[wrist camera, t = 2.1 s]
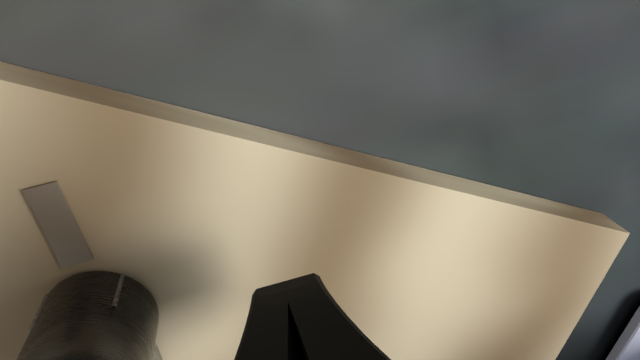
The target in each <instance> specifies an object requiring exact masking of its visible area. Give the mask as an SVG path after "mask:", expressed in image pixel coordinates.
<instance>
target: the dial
mask: <svg viewBox="0 0 640 360" xmlns="http://www.w3.org/2000/svg"><path fill="white" fill-rule="evenodd" d="M158 322H159V311H158V307H157V304H156V301H155V299H154V298H153V296H152V295H151V293H150V292H149V291H148V290H147V289H146V288H145V287H144V286H143V285H142V284H140V283H139V282H137V281H136V280H134V279H132V278H130V277H128V276H125V274H124V273H123V274H119V273H115V272H109V271H89V272H83V273H79V274H76V275H73V276H71V277H69V278H67V279H65V280H63V281H62V282H60V283H59V284H57V285H56V286H55V287H54V288H53V289H52V290H51V291H50V293H49V294H46V295H45V297H44V299H43V301H42V303H41V305H40V307H39V309H38V311H37V313H36V315H35V317H34V319H33V321H32V323H31V326H30V328H29V331H30V332H29V335H28V337H27V339H26V341H25V343H24V345H23V347H22V349H21V351H20V353H19V355H18V357H17V360H163V358H162V356H161V354H160V351H159V349H158V347H157V345H156V343H155V342H156V335H157V329H158Z"/></svg>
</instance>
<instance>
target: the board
mask: <svg viewBox="0 0 640 360" xmlns="http://www.w3.org/2000/svg"><path fill="white" fill-rule="evenodd" d="M629 234H630V233H629V232H627V231H626V230H625V229H623V228H622V227H620V226H619V225H617V224H616V223H615V222H613V221H612V220H610V219H609V218H608V217H606V216H605V215H603V214H602V213H598V212H595V211H591V210H587V209H583V208H579V207H575V206H571V205H567V204H563V203H559V202H555V201H551V200H547V199H543V198H539V197H535V196H531V195H527V194H523V193H519V192H515V191H511V190H507V189H503V188H499V187H496V186H492V185H488V184H484V183H480V182H476V181H472V180H468V179H464V178H460V177H456V176H452V175H448V174H444V173H440V172H436V171H432V170H428V169H424V168H420V167H416V166H412V165H408V164H404V163H400V162H397V161H393V160H389V159H385V158H381V157H377V156H373V155H369V154H365V153H361V152H357V151H353V150H349V149H345V148H341V147H337V146H333V145H329V144H325V143H321V142H317V141H313V140H309V139H305V138H301V137H298V136H294V135H290V134H286V133H282V132H278V131H274V130H270V129H266V128H262V127H258V126H254V125H250V124H246V123H242V122H238V121H234V120H230V119H226V118H222V117H218V116H214V115H210V114H206V113H202V112H199V111H195V110H191V109H187V108H183V107H179V106H175V105H171V104H167V103H163V102H159V101H155V100H151V99H147V98H143V97H139V96H135V95H131V94H127V93H123V92H119V91H115V90H111V89H107V88H103V87H100V86H96V85H92V84H88V83H84V82H80V81H76V80H72V79H68V78H64V77H60V76H56V75H52V74H48V73H44V72H40V71H36V70H32V69H28V68H24V67H20V66H16V65H12V64H8V63H4V62H1V61H0V360H17V357H18V355H19V353H20V351H21V349H22V347H23V345H24V343H25V341H26V339H27V337H28V335H29V332H30V331H29V328H30V326H31V323H32V321H33V319H34V317H35V315H36V313H37V311H38V309H39V307H40V305H41V303H42V301H43V299H44V297H45V295H46V294H49V293H50V291H51V290H52V289H53V288H54V287H55V286H56V285H57V284H59V283H60V282H62V281H63V280H65V279H67V278H69V277H71V276H73V275H76V274H79V273H83V272H89V271H109V272H115V273H119V274H123V273H124V274H125V276H128V277H130V278H132V279H134V280H136V281H137V282H139V283H140V284H142V285H143V286H144V287H145V288H146V289H147V290H148V291H149V292H150V293H151V295H152V296H153V298H154V299H155V301H156V304H157V307H158V311H159V322H158V329H157V335H156V342H155V343H156V345H157V347H158V349H159V351H160V354H161V356H162V358H163V360H234V359H235V356H236V353H237V350H238V347H239V344H240V341H241V338H242V335H243V331H244V328H245V325H246V321H247V317H248V313H249V309H250V304H251V299H252V294H253V293H254V291H255V290H256V289H258V288H261V287H265V286H269V285H272V284H276V283H279V282H283V281H287V280H290V279H294V278H297V277H301V276H304V275H308V274H312V273H315V274H317V275H318V276H320V278H321V280H322V282H323V284H324V285H325V287H326V288H327V290H328V292H329V293H330V294H331V296H332V297H333V298H334V300H335V301H336V302H337V304H338V305H339V306H340V307H341V309H342V310H343V311H344V312H345V313H346V315H347V316H348V317H349V318H350V319H351V320H352V321H353V322H354V323H355V324H356V326H357V327H358V328H359V329H360V330H361V331H362V332H363V333H364V334H365V335H366V336H367V337H368V338H369V339H370V340H371V341H372V342H373V343H374V344H375V345H376V346H377V347H378V348H379V349H380V350H381V351H382V352H384V353H385V354H386V355H387V356H388V357H389V358H390V359H391V360H555V359H556V358H557V356H558V354H559V353H560V351H561V349H562V347H563V346H564V344H565V342H566V341H567V339H568V337H569V336H570V334H571V332H572V331H573V329H574V327H575V325H576V324H577V322H578V320H579V319H580V317H581V315H582V314H583V312H584V310H585V309H586V307H587V305H588V303H589V302H590V300H591V298H592V297H593V295H594V293H595V292H596V290H597V288H598V287H599V285H600V283H601V281H602V280H603V278H604V276H605V275H606V273H607V271H608V270H609V268H610V266H611V265H612V263H613V261H614V259H615V258H616V256H617V254H618V253H619V251H620V249H621V248H622V246H623V244H624V243H625V241H626V239H627V237H628V236H629Z"/></svg>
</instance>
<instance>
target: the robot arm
mask: <svg viewBox="0 0 640 360" xmlns="http://www.w3.org/2000/svg"><path fill="white" fill-rule="evenodd" d="M234 360H391V359H390V358H389V357H388V356H387V355H386V354H385V353H384V352H382V351H381V350H380V349H379V348H378V347H377V346H376V345H375V344H374V343H373V342H372V341H371V340H370V339H369V338H368V337H367V336H366V335H365V334H364V333H363V332H362V331H361V330H360V329H359V328H358V327H357V326H356V324H355V323H354V322H353V321H352V320H351V319H350V318H349V317H348V316H347V315H346V313H345V312H344V311H343V310H342V309H341V307H340V306H339V305H338V304H337V302H336V301H335V300H334V298H333V297H332V296H331V294H330V293H329V292H328V290H327V288H326V287H325V285H324V284H323V282H322V280H321V278H320V276H318V275H317V274H315V273H312V274H308V275H304V276H301V277H297V278H294V279H290V280H287V281H283V282H279V283H276V284H272V285H269V286H265V287H261V288H258V289H256V290H255V291H254V293H253V294H252V299H251V304H250V309H249V313H248V317H247V321H246V325H245V328H244V331H243V335H242V338H241V341H240V344H239V347H238V350H237V353H236V356H235V359H234ZM606 360H640V306H639V308H638V309H637V311H636V312H635V314H634V315H633V317H632V319H631V320H630V322H629V323H628V325H627V326H626V328H625V330H624V331H623V333H622V334H621V336H620V338H619V339H618V341H617V342H616V344H615V345H614V347H613V349H612V350H611V352H610V353H609V355H608V357H607V358H606Z"/></svg>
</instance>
